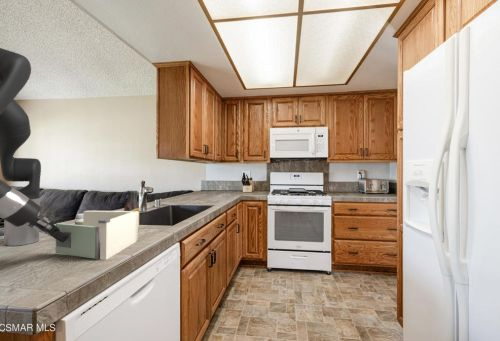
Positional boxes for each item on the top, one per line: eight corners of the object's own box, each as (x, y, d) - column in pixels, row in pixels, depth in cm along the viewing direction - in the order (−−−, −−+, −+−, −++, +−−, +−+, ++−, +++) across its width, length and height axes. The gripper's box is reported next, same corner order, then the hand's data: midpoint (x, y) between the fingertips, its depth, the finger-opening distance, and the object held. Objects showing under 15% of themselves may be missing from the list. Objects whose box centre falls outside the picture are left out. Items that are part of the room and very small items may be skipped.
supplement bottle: (89, 233, 105) (90, 212, 105) (89, 236, 101) (89, 214, 101) (75, 235, 102) (75, 213, 102) (74, 238, 98) (74, 215, 98)
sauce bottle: (132, 237, 101) (133, 191, 101) (119, 236, 102) (120, 190, 102) (142, 233, 107) (142, 190, 107) (130, 232, 108) (130, 189, 108)
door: (54, 253, 79) (54, 223, 79) (58, 252, 80) (58, 223, 80) (95, 259, 75) (96, 227, 75) (99, 257, 76) (99, 226, 76)
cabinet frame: (38, 259, 75) (38, 219, 75) (86, 239, 97) (86, 208, 97) (105, 260, 75) (105, 220, 75) (138, 240, 96) (138, 209, 96)
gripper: (35, 198, 66) (83, 232, 76) (19, 195, 73) (65, 227, 83) (8, 220, 61) (63, 253, 71) (-6, 215, 68) (46, 246, 78)
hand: (64, 239), depth 77 cm, fingers closed
